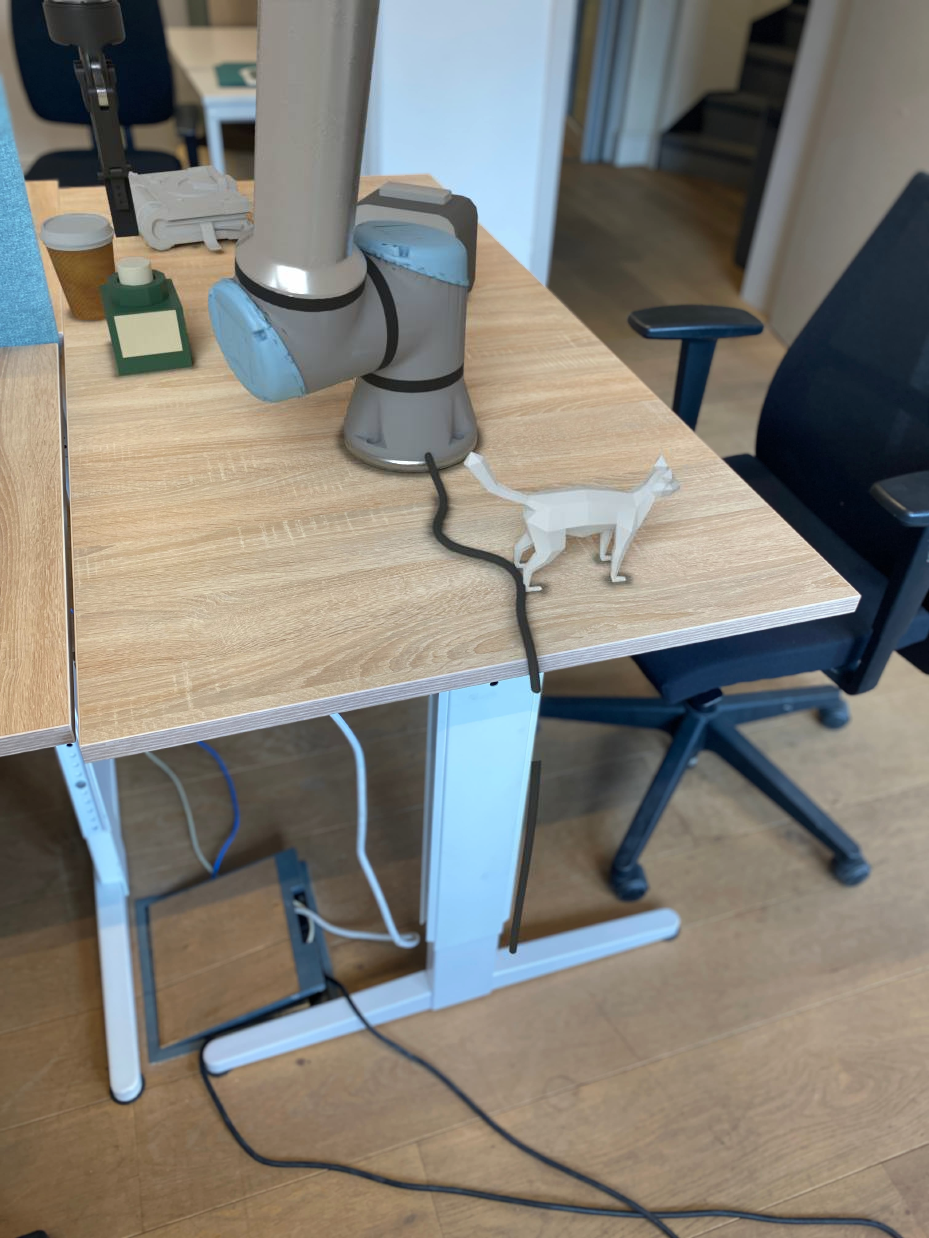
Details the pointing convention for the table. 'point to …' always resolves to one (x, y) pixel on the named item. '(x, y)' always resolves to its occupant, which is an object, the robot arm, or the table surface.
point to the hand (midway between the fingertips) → (127, 234)
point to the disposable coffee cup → (81, 259)
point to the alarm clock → (425, 213)
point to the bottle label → (148, 333)
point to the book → (189, 207)
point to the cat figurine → (578, 514)
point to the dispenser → (144, 301)
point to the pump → (134, 271)
